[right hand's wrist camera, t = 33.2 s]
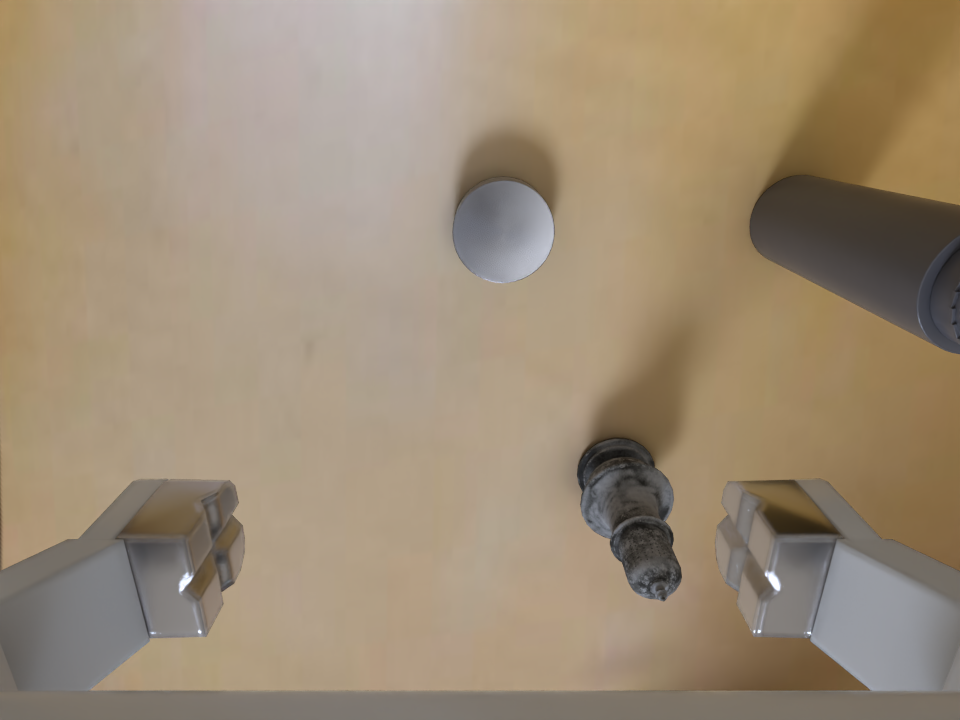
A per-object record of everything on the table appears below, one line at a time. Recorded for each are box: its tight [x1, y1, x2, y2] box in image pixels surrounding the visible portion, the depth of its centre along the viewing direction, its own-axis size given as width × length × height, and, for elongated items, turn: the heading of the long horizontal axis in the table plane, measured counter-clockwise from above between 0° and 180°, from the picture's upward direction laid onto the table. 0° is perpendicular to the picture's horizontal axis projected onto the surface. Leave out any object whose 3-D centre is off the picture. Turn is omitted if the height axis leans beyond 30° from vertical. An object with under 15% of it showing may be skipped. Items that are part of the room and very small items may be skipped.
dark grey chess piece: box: [577, 439, 682, 601], centre depth 37 cm, size 6×6×12 cm
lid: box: [453, 177, 555, 283], centre depth 36 cm, size 6×6×2 cm
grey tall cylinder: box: [750, 175, 960, 354], centre depth 28 cm, size 5×5×17 cm
